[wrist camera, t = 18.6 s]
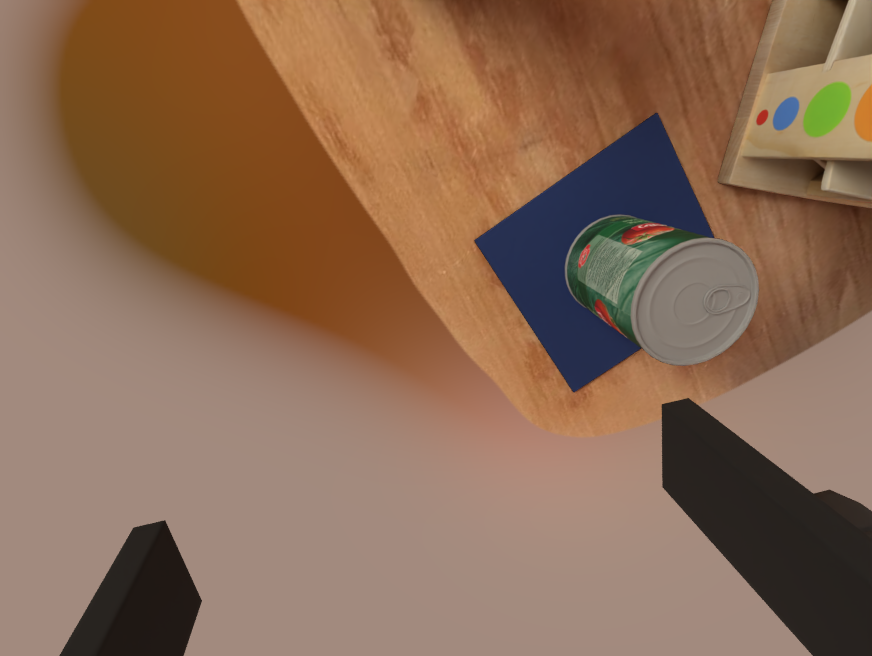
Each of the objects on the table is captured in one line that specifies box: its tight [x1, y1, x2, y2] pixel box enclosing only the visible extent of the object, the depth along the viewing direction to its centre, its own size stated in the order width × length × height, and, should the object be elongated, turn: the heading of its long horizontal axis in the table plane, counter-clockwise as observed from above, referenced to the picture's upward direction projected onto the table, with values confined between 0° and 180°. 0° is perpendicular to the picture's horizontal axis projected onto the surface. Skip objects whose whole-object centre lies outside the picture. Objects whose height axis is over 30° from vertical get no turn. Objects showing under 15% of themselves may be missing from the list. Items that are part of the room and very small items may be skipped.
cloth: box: [474, 113, 714, 392], centre depth 40 cm, size 16×16×1 cm
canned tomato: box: [565, 215, 759, 366], centre depth 35 cm, size 8×8×11 cm
